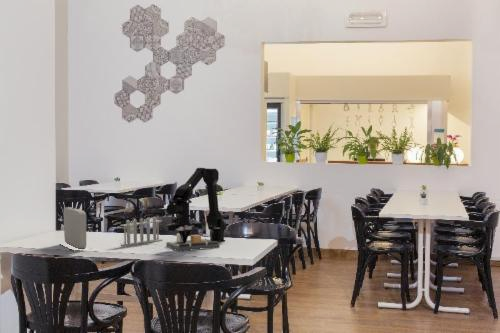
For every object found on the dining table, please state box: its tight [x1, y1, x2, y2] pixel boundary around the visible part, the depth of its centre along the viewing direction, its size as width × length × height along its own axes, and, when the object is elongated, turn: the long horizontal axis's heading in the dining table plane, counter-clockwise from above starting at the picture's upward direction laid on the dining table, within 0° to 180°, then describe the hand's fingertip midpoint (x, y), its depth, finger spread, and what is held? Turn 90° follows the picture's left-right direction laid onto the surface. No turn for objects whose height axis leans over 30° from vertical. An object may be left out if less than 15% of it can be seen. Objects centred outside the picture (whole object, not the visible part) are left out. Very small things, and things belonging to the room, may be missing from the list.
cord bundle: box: [179, 241, 219, 247], centre depth 366 cm, size 21×2×2 cm, turn 117°
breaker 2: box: [189, 234, 202, 243], centre depth 369 cm, size 4×4×4 cm
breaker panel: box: [165, 238, 220, 252], centre depth 373 cm, size 22×18×2 cm
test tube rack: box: [120, 216, 163, 247], centre depth 387 cm, size 25×4×13 cm, turn 137°
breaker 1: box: [176, 232, 188, 242], centre depth 376 cm, size 4×4×4 cm
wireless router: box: [63, 206, 93, 252], centre depth 376 cm, size 31×10×20 cm, turn 31°
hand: (184, 243), depth 366 cm, fingers closed
